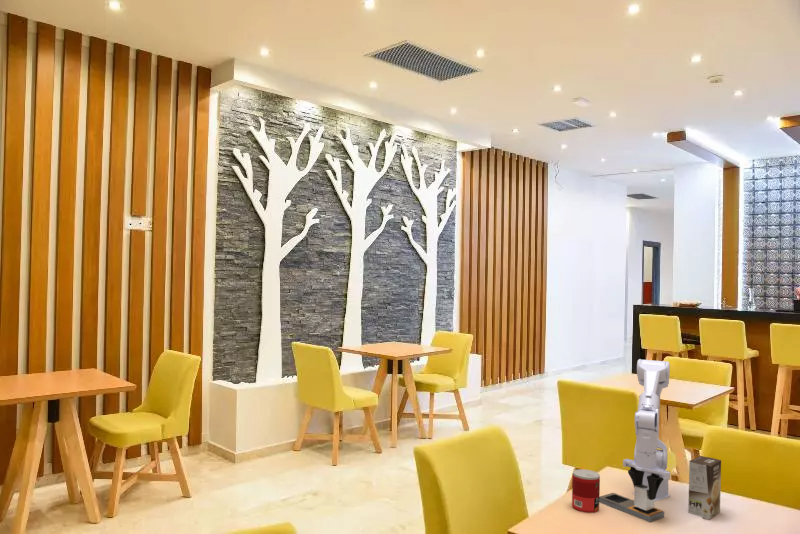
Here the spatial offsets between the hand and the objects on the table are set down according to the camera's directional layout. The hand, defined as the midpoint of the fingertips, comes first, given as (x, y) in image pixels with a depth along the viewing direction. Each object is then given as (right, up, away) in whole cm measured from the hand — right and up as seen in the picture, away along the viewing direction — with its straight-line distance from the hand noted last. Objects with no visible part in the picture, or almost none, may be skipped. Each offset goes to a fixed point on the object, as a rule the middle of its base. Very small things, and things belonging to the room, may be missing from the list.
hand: (645, 496), depth 182 cm
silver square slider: (0, -3, 0) cm, 3 cm away
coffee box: (+19, -7, +3) cm, 21 cm away
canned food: (-16, -6, +5) cm, 18 cm away
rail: (-3, -6, +4) cm, 8 cm away
